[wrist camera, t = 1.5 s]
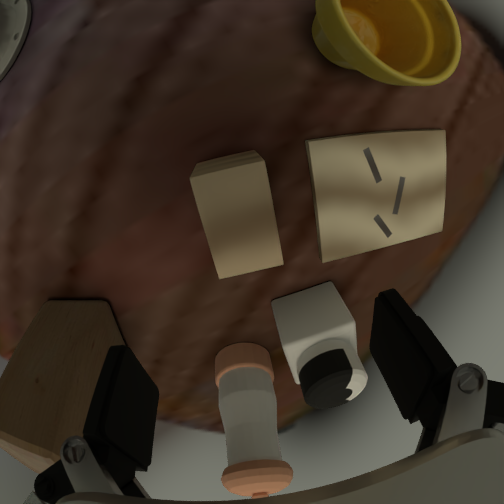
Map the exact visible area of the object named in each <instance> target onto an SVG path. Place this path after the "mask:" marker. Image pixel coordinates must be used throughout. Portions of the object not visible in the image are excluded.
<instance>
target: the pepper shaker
mask: <svg viewBox="0 0 504 504" xmlns="http://www.w3.org/2000/svg"><path fill="white" fill-rule="evenodd" d="M273 380H274V373H273V368H272V363H271V359H270V354H269V352H268V351H267V350H266V349H265V348H264V347H262V346H260V345H258V344H254V343H236V344H232V345H229V346H227V347H225V348H223V349H222V350H221V351H219V353H218V354H217V356H216V358H215V382H216V385H217V387H218V388H219V409H220V413H221V418H222V422H223V426H224V430H225V434H226V445H227V456H228V467H227V468H225V470H224V471H223V475H222V478H221V481H222V483H223V486H224V487H225V488H226V489H227V490H228V491H229V492H231V493H234V494H237V495H241V496H252V497H251V498H252V499H254V498H263V497H269V495H268V494H273V493H276V492H278V491H280V490H282V489H284V488H285V487H287V486H288V485H289V484H290V482H291V480H292V478H293V470H292V468H291V467H290V465H289V464H288V463H286V462H285V461H282V456H281V451H280V446H279V440H278V434H277V401H276V396H275V392H274V388H273V384H272V383H273Z"/></svg>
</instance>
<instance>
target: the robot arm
mask: <svg viewBox="0 0 504 504" xmlns="http://www.w3.org/2000/svg"><path fill="white" fill-rule="evenodd" d="M31 12H32V11H31V4H30V1H29V0H0V81H1V80H2V79H3V77H4V76H5V74H6V73H7V72H8V71H9V69H10V67H11V66H12V64H13V63H14V61H15V59H16V57H17V55H18V54H19V52H20V50H21V47H22V45H23V43H24V41H25V38H26V35H27V32H28V29H29V25H30V21H31ZM370 352H371V354H372V356H373V358H374V360H375V362H376V364H377V366H378V368H379V369H380V371H381V374H382V375H383V377H384V379H385V381H386V383H387V385H388V387H389V389H390V391H391V394H392V396H393V397H394V400H395V402H396V404H397V405H398V408H399V410H400V412H401V414H402V416H403V418H404V419H408V420H409V422H410V424H412V423H413V422H416V421H418V420H420V422H421V424H422V426H423V430H422V433H421V436H420V439H419V442H418V445H417V448H416V451H415V454H413V455H411V456H408V457H407V458H404V459H402V460H399V461H397V462H395V463H392V464H389V465H387V466H384V467H382V468H379V469H377V470H374V471H371V472H368V473H365V474H363V475H360V476H357V477H353V478H350V479H347V480H344V481H340V482H337V483H333V484H329V485H326V486H322V487H318V488H314V489H309V490H304V491H299V492H295V493H289V494H283V495H277V496H270V497H263V498H254V499H244V500H230V501H174V500H159V499H151V497H150V496H149V495H148V494H147V492H146V491H145V490H144V488H143V487H142V486H141V484H140V483H139V481H138V480H137V479H136V477H135V471H145V472H146V471H147V468H148V466H149V465H150V464H151V458H152V448H153V447H152V446H153V439H154V429H155V422H156V414H157V407H158V400H159V390H158V388H157V386H156V385H155V383H154V382H153V381H152V379H151V378H150V377H149V375H148V374H147V372H146V371H145V370H144V368H143V367H142V365H141V364H140V362H139V361H138V359H137V358H136V356H135V355H134V353H133V352H132V350H131V349H130V348H127V347H126V346H125V345H115V346H110V348H109V350H108V352H107V355H106V358H105V361H104V363H103V366H102V369H101V372H100V375H99V378H98V381H97V384H96V387H95V390H94V394H93V397H92V400H91V403H90V407H89V410H88V414H87V417H86V421H85V424H84V428H83V432H82V433H83V438H82V437H81V436H77V435H76V436H71V437H69V438H67V439H66V440H65V441H64V442H63V444H62V446H61V449H60V457H61V459H60V460H58V461H57V462H56V463H54V464H53V465H51V466H50V467H49V468H47V469H46V470H44V471H43V472H41V473H40V474H39V475H38V476H37V477H36V480H35V483H34V488H35V492H33V491H32V492H31V494H30V495H29V496H28V498H27V499H26V500H25V502H24V503H23V504H504V383H501V382H496V381H492V380H487V376H486V373H485V371H484V370H483V369H482V368H481V367H480V366H478V365H476V364H473V363H465V364H462V365H460V366H459V367H457V366H456V364H455V363H454V361H453V360H452V358H451V357H450V356H449V354H448V353H447V351H446V350H445V349H444V347H443V346H442V344H441V343H440V342H439V340H438V339H437V338H436V336H435V335H434V334H433V332H432V331H431V330H430V328H429V327H428V326H427V324H426V323H425V322H424V321H423V319H422V318H421V317H419V316H416V314H415V313H414V312H413V310H412V309H411V308H410V307H409V305H408V304H407V303H406V302H405V300H404V299H403V298H402V297H401V296H400V294H399V293H398V292H397V291H396V290H395V289H393V288H392V289H389V290H386V291H383V292H380V293H379V295H378V297H376V298H375V304H374V314H373V323H372V331H371V338H370Z"/></svg>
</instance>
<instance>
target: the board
mask: <svg viewBox="0 0 504 504" xmlns="http://www.w3.org/2000/svg"><path fill="white" fill-rule="evenodd" d="M305 144H306V151H307V157H308V164H309V171H310V178H311V185H312V193H313V201H314V209H315V218H316V227H317V237H318V247H319V258H320V260H321V261H322V263H324V262H328V261H332V260H336V259H340V258H344V257H348V256H352V255H356V254H360V253H363V252H367V251H371V250H375V249H379V248H382V247H386V246H390V245H394V244H397V243H401V242H405V241H408V240H412V239H416V238H419V237H423V236H426V235H430V234H433V233H437V232H440V231H442V227H443V217H444V206H445V190H446V134H445V130H441V129H420V130H398V131H383V132H371V133H360V134H351V135H342V136H334V137H326V138H319V139H312V140H306V141H305Z"/></svg>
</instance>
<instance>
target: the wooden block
mask: <svg viewBox="0 0 504 504" xmlns="http://www.w3.org/2000/svg"><path fill="white" fill-rule="evenodd" d="M115 345H125V343H124V341H123V338H122V336H121V334H120V331H119V329H118V326H117V324H116V321H115V319H114V316H113V314H112V311H111V308H110V306H109V304H108V303H107V302H106V301H103V300H49V301H47V302H46V303H44V304H43V306H42V307H41V309H40V310H39V312H38V313H37V315H36V316H35V318H34V319H33V321H32V323H31V324H30V326H29V327H28V329H27V331H26V332H25V334H24V336H23V337H22V339H21V341H20V342H19V344H18V346H17V348H16V349H15V351H14V353H13V355H12V357H11V358H10V360H9V362H8V364H7V366H6V368H5V370H4V372H3V374H2V376H1V378H0V447H1V448H2V449H4V450H5V451H6V452H7V453H9V454H10V455H11V456H13V457H14V458H15V459H17V460H18V461H20V462H21V463H22V464H24V465H25V466H27V467H28V468H30V469H31V470H33V471H34V472H36V473H39V474H40V473H41V472H43V471H44V470H46V469H47V468H49V467H50V466H51V465H53V464H54V463H56V462H57V461H58V460H60V459H61V457H60V449H61V446H62V444H63V442H64V441H65V440H66V439H67V438H69V437H71V436H76V435H77V436H81V437H82V438H83V433H82V432H83V428H84V424H85V421H86V417H87V414H88V410H89V407H90V403H91V400H92V397H93V394H94V390H95V387H96V384H97V381H98V378H99V375H100V372H101V369H102V366H103V363H104V361H105V358H106V355H107V352H108V350H109V348H110V346H115ZM125 346H126V345H125Z"/></svg>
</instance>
